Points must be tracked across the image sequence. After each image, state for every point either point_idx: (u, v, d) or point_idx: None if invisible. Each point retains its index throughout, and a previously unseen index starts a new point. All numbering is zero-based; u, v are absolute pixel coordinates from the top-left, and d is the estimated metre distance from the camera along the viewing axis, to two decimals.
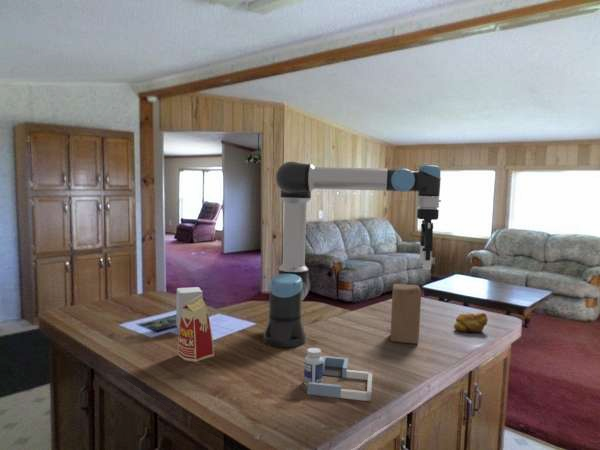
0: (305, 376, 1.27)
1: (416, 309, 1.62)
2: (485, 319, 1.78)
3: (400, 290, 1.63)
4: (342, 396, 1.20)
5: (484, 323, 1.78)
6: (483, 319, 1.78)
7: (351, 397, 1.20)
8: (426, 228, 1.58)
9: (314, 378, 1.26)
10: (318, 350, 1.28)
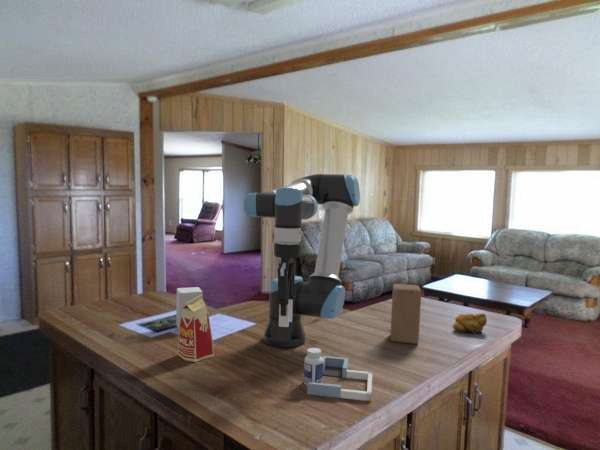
0: (305, 376, 1.27)
1: (416, 309, 1.62)
2: (484, 319, 1.77)
3: (400, 290, 1.63)
4: (342, 396, 1.20)
5: (483, 323, 1.78)
6: (482, 320, 1.77)
7: (351, 397, 1.20)
8: (279, 276, 1.22)
9: (314, 378, 1.26)
10: (318, 350, 1.28)
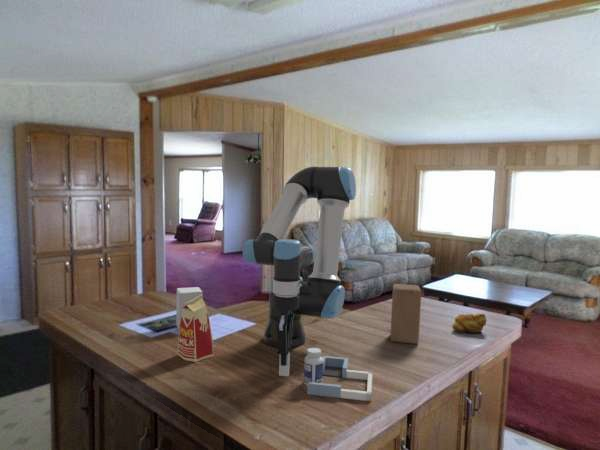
0: (305, 376, 1.27)
1: (416, 309, 1.62)
2: (484, 320, 1.77)
3: (400, 290, 1.63)
4: (342, 396, 1.20)
5: (483, 324, 1.77)
6: (481, 320, 1.77)
7: (351, 397, 1.20)
8: (278, 331, 1.24)
9: (314, 378, 1.26)
10: (318, 350, 1.28)
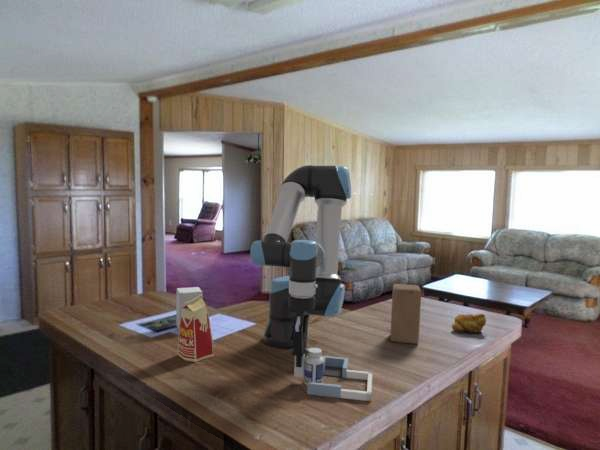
0: (305, 376, 1.27)
1: (416, 309, 1.62)
2: (483, 320, 1.77)
3: (400, 290, 1.63)
4: (342, 396, 1.20)
5: (482, 324, 1.77)
6: (481, 320, 1.77)
7: (351, 397, 1.20)
8: (294, 332, 1.23)
9: (314, 378, 1.26)
10: (319, 350, 1.28)
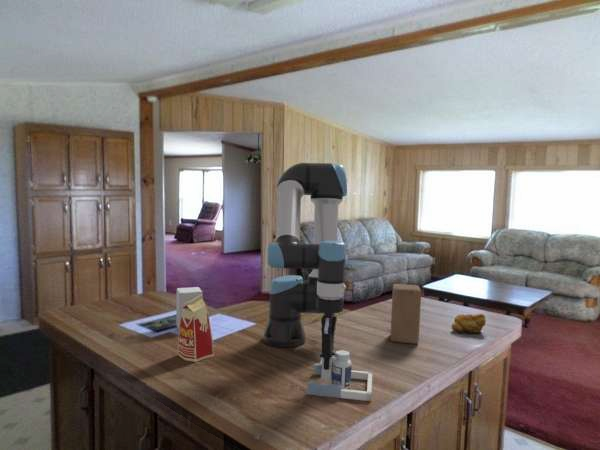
0: (334, 379, 1.25)
1: (416, 309, 1.62)
2: (483, 320, 1.76)
3: (400, 290, 1.63)
4: (342, 396, 1.20)
5: (482, 324, 1.77)
6: (480, 320, 1.76)
7: (351, 397, 1.20)
8: (323, 334, 1.21)
9: (343, 381, 1.24)
10: (346, 352, 1.26)
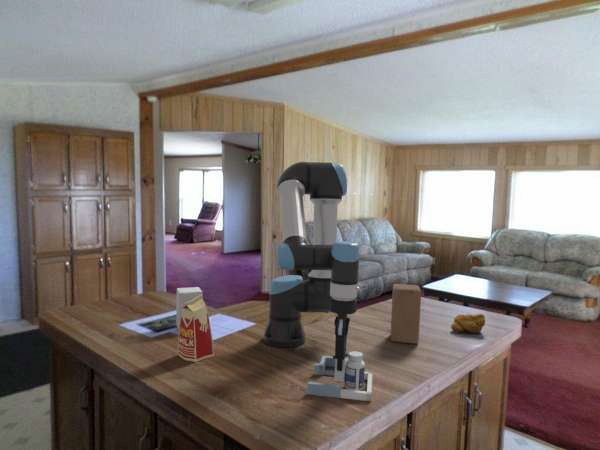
0: (348, 381, 1.25)
1: (416, 309, 1.62)
2: (482, 320, 1.76)
3: (400, 290, 1.63)
4: (342, 396, 1.20)
5: (482, 324, 1.77)
6: (480, 320, 1.76)
7: (351, 397, 1.20)
8: (336, 335, 1.21)
9: (357, 382, 1.24)
10: (360, 353, 1.26)
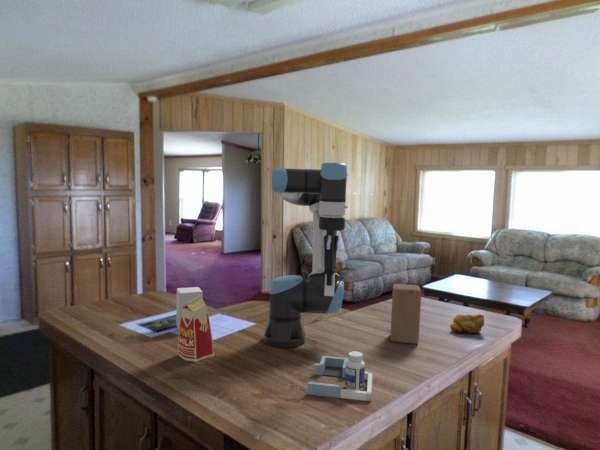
0: (348, 381, 1.25)
1: (416, 309, 1.62)
2: (482, 320, 1.76)
3: (400, 290, 1.63)
4: (342, 396, 1.20)
5: (481, 324, 1.76)
6: (479, 321, 1.76)
7: (351, 397, 1.20)
8: (325, 249, 1.27)
9: (358, 382, 1.24)
10: (360, 353, 1.26)
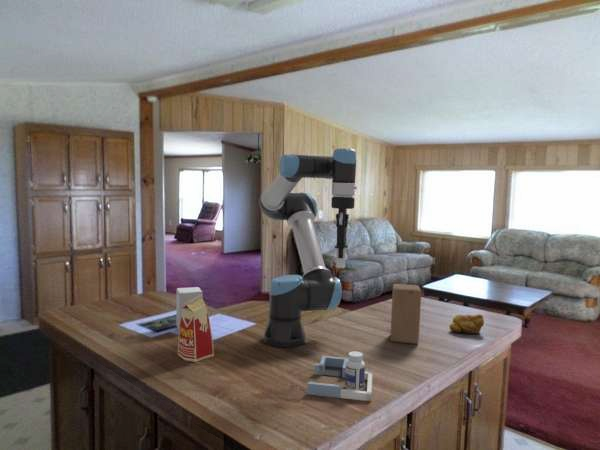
0: (348, 381, 1.25)
1: (416, 309, 1.62)
2: (481, 321, 1.75)
3: (400, 290, 1.63)
4: (342, 396, 1.20)
5: (480, 325, 1.76)
6: (478, 321, 1.75)
7: (351, 397, 1.20)
8: (338, 225, 1.44)
9: (358, 382, 1.24)
10: (360, 353, 1.26)
